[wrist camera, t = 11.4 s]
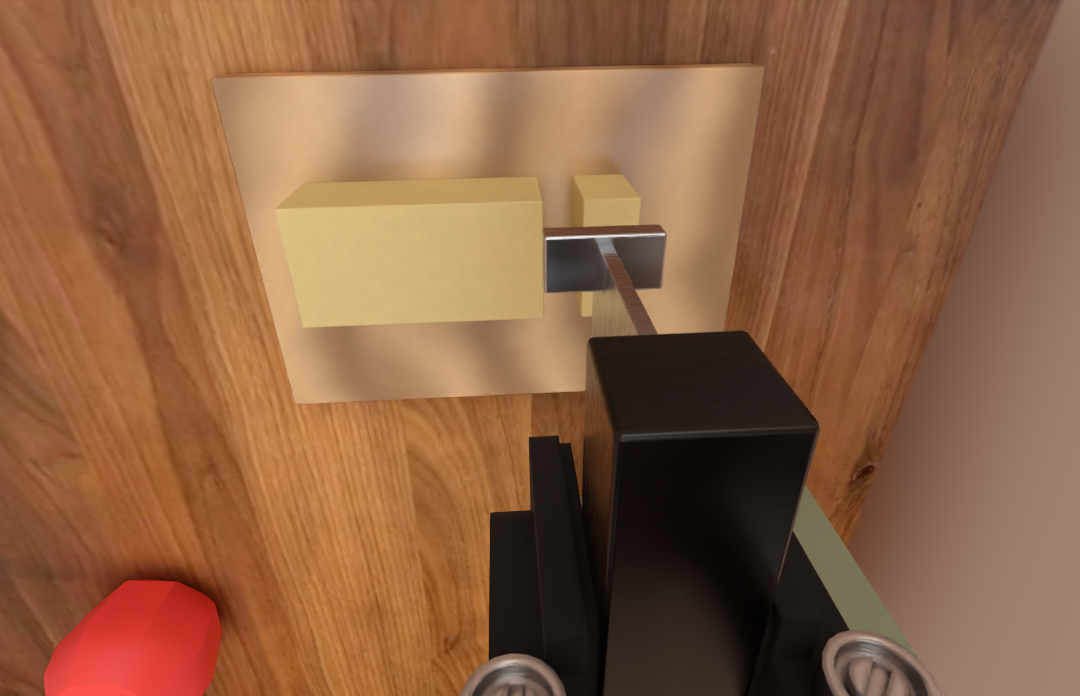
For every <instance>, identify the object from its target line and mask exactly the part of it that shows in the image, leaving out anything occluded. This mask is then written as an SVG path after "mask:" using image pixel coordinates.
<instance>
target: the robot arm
mask: <svg viewBox="0 0 1080 696" xmlns="http://www.w3.org/2000/svg"><path fill="white" fill-rule="evenodd" d="M529 464H530V500H531V510H528V511H510V512H493V513H491V514H490V587H489V661H487V662H486V663H484V664H482V665H481V666H480V667H479V668H478V669H477V670H476V671H475V672H474V673H473V674H472V675H471V676H470V677H469V678H468V680H467V682H466V684H465V686H464V688H463V689H462V691H461V694H460V696H597V682H598V665H599V648H600V636H599V622H598V614H597V607H596V602H595V596H594V590H593V584H592V578H591V572H590V566H589V561H588V555H587V549H586V543H585V537H584V531H583V526H582V506H581V500H580V495H579V489H578V483H577V478H576V472H575V466H574V460H573V455H572V449H571V444H570V443H560V442H559V437H558V436H542V437H529ZM748 696H945V695H944V693H943V691H942V690H941V688H940V687H939V685H938V684H937V682H936V681H935V679H934V678H933V676H932V675H931V673H930V672H929V671H928V670H927V669H926V667H925V666H924V665H923V663H922V662H921V661H920V660H919V659H918V658H917V657H916V656H915V655H913V654H912V653H911V652H910V651H908V650H907V649H906V648H905V647H904V646H902V645H900V644H898V643H897V642H895V641H893V640H891V639H889V638H888V637H886V636H882V635H879V634H876V633H873V632H870V631H862V630H850V629H849V628H848V626H847V624H846V622H845V621H844V619H843V617H842V615H841V614H840V612H839V610H838V608H837V607H836V605H835V603H834V602H833V600H832V598H831V596H830V595H829V593H828V591H827V589H826V588H825V586H824V584H823V582H822V581H821V579H820V577H819V575H818V574H817V572H816V570H815V568H814V567H813V565H812V563H811V561H810V560H809V558H808V556H807V554H806V553H805V551H804V549H803V547H802V546H801V544H800V542H799V540H798V539H797V537H796V535H795V533H794V532H793V531H792V535H791V538H790V542H789V546H788V549H787V553H786V557H785V560H784V564H783V568H782V571H781V575H780V579H779V582H778V586H777V590H776V593H775V597H774V601H773V604H772V608H771V612H770V615H769V619H768V623H767V627H766V630H765V634H764V638H763V641H762V645H761V649H760V652H759V656H758V660H757V663H756V667H755V671H754V674H753V678H752V682H751V685H750V689H749V693H748Z"/></svg>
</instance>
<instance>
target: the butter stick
mask: <svg viewBox="0 0 1080 696" xmlns="http://www.w3.org/2000/svg"><path fill="white" fill-rule="evenodd" d="M274 211H275V215H276V219H277V223H278V227H279V232H280V236H281V240H282V244H283V248H284V253H285V257H286V261H287V265H288V270H289V274H290V278H291V282H292V286H293V291H294V295H295V299H296V303H297V308H298V312H299V316H300V320H301V324H302V327H303V328H311V327H337V326H362V325H387V324H412V323H437V322H463V321H488V320H513V319H538V318H544V289H543V283H542V229H543V201H542V197H541V193H540V188H539V184H538V180H537V177H500V178H465V179H429V180H394V181H359V182H324V183H303V184H302V185H301V186H300V187H299V188H298V189H297V190H296V191H294V192H293V193H292V194H291V195H290V196H289V197H288V198H287V199H285V200H284V201H283V202H282V203H281V204H280V205H279V206H278V207H276V208H275V210H274Z"/></svg>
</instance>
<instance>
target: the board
mask: <svg viewBox="0 0 1080 696" xmlns="http://www.w3.org/2000/svg"><path fill="white" fill-rule="evenodd" d="M764 72H765V67H764V66H761V65H756V64H751V63H734V64H683V65H632V66H581V67H530V68H479V69H428V70H378V71H327V72H276V73H227V74H222V75H218V76H214V77H211V78H210V81H211V85H212V89H213V92H214V96H215V100H216V104H217V108H218V111H219V115H220V119H221V123H222V127H223V131H224V134H225V138H226V142H227V146H228V150H229V153H230V157H231V161H232V165H233V169H234V172H235V176H236V180H237V184H238V188H239V192H240V195H241V199H242V203H243V207H244V211H245V214H246V218H247V222H248V226H249V230H250V233H251V237H252V241H253V245H254V249H255V253H256V256H257V260H258V264H259V268H260V272H261V275H262V279H263V283H264V287H265V291H266V295H267V298H268V302H269V306H270V310H271V314H272V317H273V321H274V325H275V329H276V333H277V336H278V340H279V344H280V348H281V352H282V356H283V359H284V363H285V367H286V371H287V375H288V378H289V382H290V386H291V390H292V394H293V397H294V401H295V404H312V403H334V402H355V401H377V400H399V399H421V398H443V397H465V396H487V395H509V394H531V393H553V392H575V391H585V386H586V352H587V342H588V340H589V338H591V329H592V316H588V317H582V316H581V314H580V310H579V306H578V303H577V299H576V295H575V292H572V293H545V292H544V318H538V319H513V320H488V321H463V322H437V323H412V324H387V325H362V326H337V327H311V328H303V327H302V324H301V320H300V316H299V312H298V308H297V303H296V299H295V295H294V291H293V286H292V282H291V278H290V274H289V270H288V265H287V261H286V257H285V253H284V248H283V244H282V240H281V236H280V232H279V227H278V223H277V219H276V215H275V211H274V210H275V208H276V207H278V206H279V205H280V204H281V203H282V202H283V201H284V200H285V199H287V198H288V197H289V196H290V195H291V194H292V193H293V192H294V191H296V190H297V189H298V188H299V187H300V186H301V185H302V184H303V183H324V182H359V181H394V180H429V179H465V178H500V177H537V180H538V184H539V188H540V193H541V197H542V201H543V229H544V228H561V227H572V195H573V176H574V175H606V174H623V175H624V177H625V178H626V179H627V181H628V182H629V183H630V185H631V186H632V187H633V188H634V190H635V191H636V192H637V194H638V195H639V196H640V198H641V209H640V223H639V225H651V224H659V225H661V226H662V228H663V229H664V230H665V231H666V233H667V242H666V253H665V263H664V274H663V284H662V288H661V289H648V290H636V292H637V294H638V296H639V297H640V299H641V301H642V303H643V305H644V307H645V309H646V311H647V313H648V315H649V317H650V319H651V321H652V323H653V325H654V327H655V329H656V331H657V333H658V334H672V333H695V332H718V331H724V327H725V320H726V314H727V308H728V301H729V295H730V288H731V282H732V276H733V269H734V263H735V257H736V250H737V244H738V238H739V231H740V225H741V219H742V212H743V206H744V200H745V193H746V187H747V180H748V174H749V168H750V161H751V155H752V149H753V142H754V136H755V130H756V123H757V117H758V111H759V104H760V98H761V91H762V85H763V79H764Z"/></svg>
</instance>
